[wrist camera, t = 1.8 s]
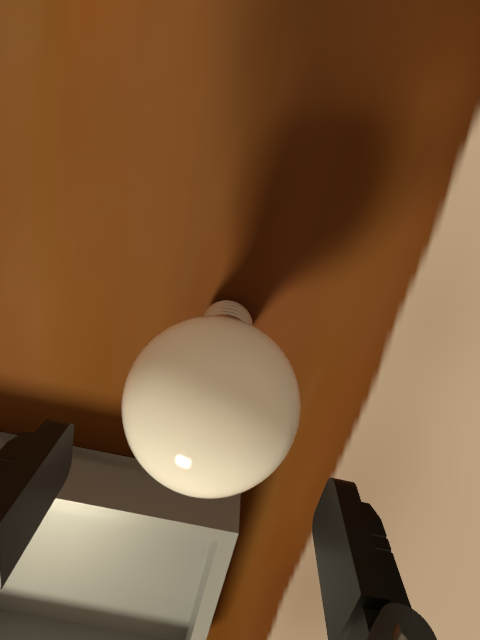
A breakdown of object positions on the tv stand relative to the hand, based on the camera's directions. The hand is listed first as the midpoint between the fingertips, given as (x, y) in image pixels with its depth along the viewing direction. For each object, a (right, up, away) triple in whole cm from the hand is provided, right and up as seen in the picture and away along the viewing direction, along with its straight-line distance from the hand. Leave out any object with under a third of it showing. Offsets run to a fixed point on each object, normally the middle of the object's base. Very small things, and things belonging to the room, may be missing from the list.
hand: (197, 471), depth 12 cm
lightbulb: (+1, +5, +10) cm, 11 cm away
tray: (-9, -12, +17) cm, 23 cm away
